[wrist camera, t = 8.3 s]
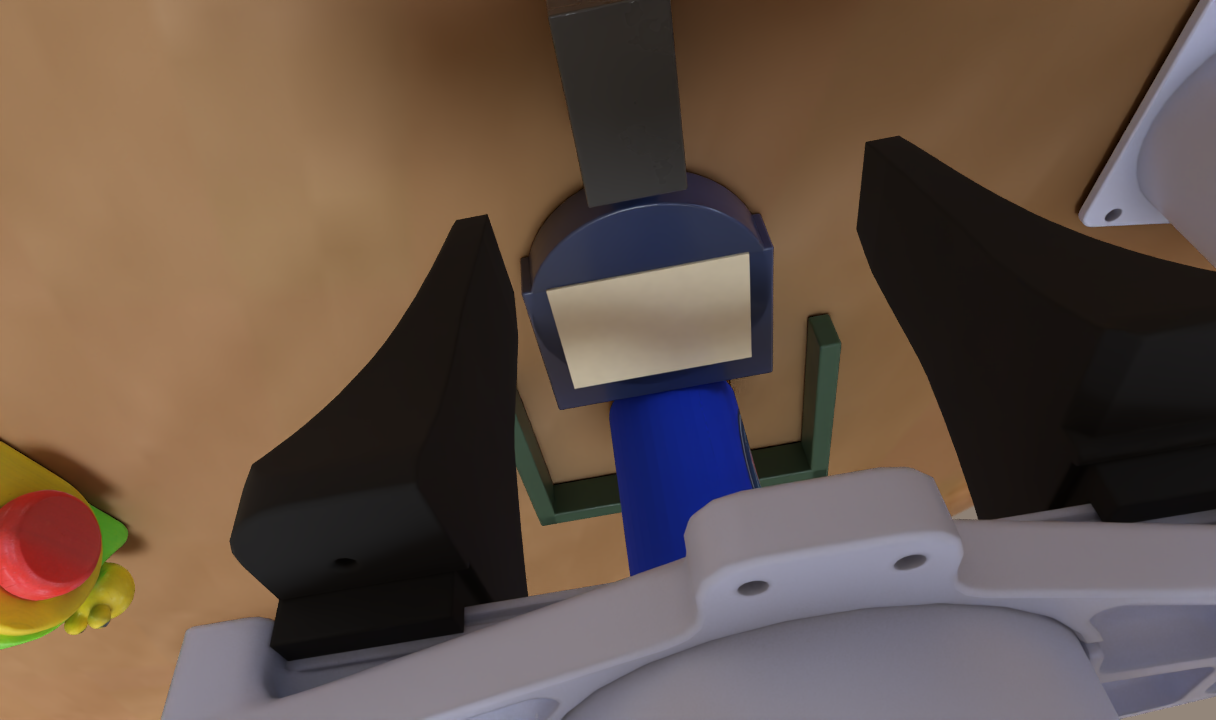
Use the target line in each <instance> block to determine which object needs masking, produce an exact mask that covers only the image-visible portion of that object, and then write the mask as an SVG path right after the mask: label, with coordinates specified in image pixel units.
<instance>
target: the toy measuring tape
mask: <svg viewBox="0 0 1216 720" xmlns="http://www.w3.org/2000/svg"><path fill="white" fill-rule="evenodd" d="M127 537H128V530H127V528H126V527H125V526H124V525H123V524H122V523H121V522H119V521H117V520H116V519H114V518H112V517H111V516H109V515H107V514H106V513H104V512H102V511H100V510H99V509H97V508H95V507H94V506H92V505H90V504H89V503H88V502H87V501H86V500H85V498H84V497H83V496H82V495H81V494H80V493H79V492H78V491H77V490H76V489H75V488H74V487H73V486H72V485H70V484H69V483H67V482H66V481H64V480H63V479H61V478H60V477H58V476H57V475H55V474H54V473H52V472H50V471H49V470H47V469H46V468H44V467H42V466H41V465H39V464H37V463H36V462H34V461H32V460H31V459H29V458H28V457H26V456H24V455H23V454H21V453H19V452H18V451H16V450H15V449H13V448H11V447H10V446H8V445H6V444H5V443H3V442H1V441H0V649H5V648H8V647H12V646H16V645H19V644H23V643H26V642H29V641H32V640H35V639H38V638H40V637H42V636H44V635H46V634H48V633H50V632H52V631H53V630H55V629H56V628H58V627H59V626H60V625H61V624H63V623H64V622H65V624H64V629H65V631H66V632H67V633H68V634H71V635H76V634H80V633H82V632H83V631H84V630H85V629H86V627H87V625H88V624H89V626H90V627H92V628H94V629H100V628H103V627H106V626H107V625H108V623H109V622H110V620H111V619H112V618H115V617H117V616H118V615H120V614H121V613H122V612H124V611H125V610H126V609H127V607H128V606H129V605H130V603H131V602H132V600H133V597H134V592H135V584H134V580H133V578H132V576H131V574H130V573H129V572H128V570H126V569H125V568H124V567H122V566H120V565H118V564H115V563H107V562H105V561H106V560H107V559H108V558H109V557H110V556H111V555H112V554H113V553H114V552H116V551H117V550H118V549H119V548H120V547H121V546H122V545H123V544H124V543H125V542H126V540H127Z"/></svg>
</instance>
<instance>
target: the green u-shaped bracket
mask: <svg viewBox="0 0 1216 720" xmlns="http://www.w3.org/2000/svg"><path fill="white" fill-rule="evenodd" d="M840 352H841V341H840V339H839V337H838V334H837V332H836V330H835V327H834V325H833V323H832V320H831V318H830V316H829V315H828V314H826V315H820V316H815V317H810V318H809V320H808V337H807V355H806V372H805V390H804V407H803V424H802V442H799V443H793V444H787V445H782V446H776V447H770V448H764V449H759V450H753V451H751V454H752V457H753V461H754V464H755V468H756V471H757V475H758V478H759V482H760V485H761V487H767V486H773V485H779V484H785V483H791V482H797V481H802V480H808V479H814V478H820V477H826V476H827V475H828V465H829V455H830V446H831V436H832V427H833V418H834V408H835V399H836V389H837V380H838V370H839V361H840ZM515 460H516V467H517V470H518V472H519V474H520V476H521V479H522V481H523V483H524V486H525V488H526V490H527V493H528V495H529V497H530V500H531V502H532V504H533V507H534V509H535V511H536V514H537V516H538V518H539V521H540V523H541V525H542V526H545V525H551V524H557V523H562V522H568V521H574V520H579V519H585V518H591V517H597V516H603V515H608V514H614V513H620V512H622V510H621V502H620V495H619V487H618V480H617V474H615V475H610V476H604V477H598V478H592V479H587V480H581V481H575V482H569V483H564V484H558V485H553V483H552V481H551V478H550V475H549V473H548V470H547V467H546V465H545V462H544V459H543V457H542V454H541V451H540V449H539V446H538V444H537V441H536V438H535V436H534V433H533V430H532V428H531V425H530V422H529V420H528V417H527V414H526V412H525V409H524V407H523V404H522V401H521V399H520V396H519V393H518V391H517V388H516V405H515Z"/></svg>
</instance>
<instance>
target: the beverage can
mask: <svg viewBox="0 0 1216 720" xmlns="http://www.w3.org/2000/svg"><path fill="white" fill-rule="evenodd" d="M609 420H610V428H611V435H612V443H613V450H614V458H615V465H616V473H617V480H618V487H619V495H620V502H621V510H622V517H623V525H624V532H625V540H626V547H627V555H628V562H629V570H630V576H633V575H636V574H639V573H642V572H644V571H647V570H650V569H653V568H656V567H659V566H662V565H664V564H667V563H670V562H673V561H676V560H679V559H681V558H684V557H686V546H685V540H684V533H685V530H686V527H687V524H688V521H689V518H690V517H691V516H692V515H693V514H694V513H696V512H697V511H698V510H700V509H701V508H702V507H704V506H705V505H706V504H708V503H709V502H711V501H712V500H714V499H717V498H720V497H723V496H726V495H730V494H733V493H736V492H739V491H744V490H749V489H755V488H761V485H760V482H759V478H758V475H757V471H756V468H755V464H754V461H753V457H752V454H751V450H750V447H749V443H748V440H747V436H746V433H745V429H744V426H743V422H742V419H741V415H740V412H739V408H738V405H737V401H736V398H735V394H734V391H733V389H732V388H731V386H730V385H729V384H728V383H727V382H726V381H720V382H714V383H709V384H703V385H698V386H692V387H686V388H681V389H675V390H670V391H664V392H658V393H653V394H647V395H642V396H636V397H631V398H625V399H619V400H614V402H613V404H612V406H611V409H610V413H609Z"/></svg>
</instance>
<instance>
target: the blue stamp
mask: <svg viewBox="0 0 1216 720" xmlns="http://www.w3.org/2000/svg"><path fill="white" fill-rule="evenodd" d="M546 5H547V13H548V20H549V25H550V30H551V34H552V39H553V44H554V48H555V53H556V58H557V63H558V67H559V72H560V77H561V81H562V86H563V91H564V95H565V100H566V105H567V110H568V114H569V119H570V124H571V128H572V133H573V138H574V142H575V147H576V152H577V157H578V161H579V166H580V171H581V175H582V180H583V185H584V189H582V190H580V191H579V192H577V193H576V194H574V195H573V196H571V197H570V198H568V199H567V200H566V201H565V202H564V203H562V204H561V205H560V206H559V207H558V208H557V209H556V210H555V211H554V212H553V213H552V214H551V215H550V216H549V218H548V219H547V220H546V221H545V223H544V224H543V226H542V227H541V229H540V230H539V232H538V234H537V236H536V238H535V240H534V242H533V244H532V247H531V251H530V254H529V257H526V258H522V259H521V261H520V263H521V289H522V297H523V300H524V303H525V306H526V309H527V312H528V315H529V318H530V321H531V324H532V327H533V331H534V334H535V337H536V340H537V343H538V346H539V349H540V352H541V355H542V358H543V361H544V364H545V367H546V370H547V374H548V377H549V380H550V383H551V386H552V389H553V392H554V395H555V398H556V401H557V404H558V407H559V409H560V410H564V409H569V408H575V407H580V406H586V405H591V404H597V403H603V402H608V401H614V400H619V399H625V398H631V397H636V396H642V395H647V394H653V393H658V392H664V391H670V390H675V389H681V388H686V387H692V386H698V385H703V384H709V383H714V382H720V381H725V380H731V379H737V378H742V377H748V376H753V375H759V374H764V373H770V372H772V370H773V257H774V247H773V245H772V242H771V239H770V237H769V234H768V232H767V229H766V227H765V224H764V222H763V219H762V217H761V215H760V214H754V215H752V214H751V213H750V211H749V210H748V209H747V207H746V206H745V204H744V203H743V202H742V201H741V200H740V199H739V198H738V197H737V196H736V195H735V194H733V193H732V192H730V191H729V190H728V189H726V188H725V187H723V186H722V185H720V184H718V183H716V182H714V181H712V180H710V179H708V178H705V177H702V176H699V175H697V174H693V173H688V172H686V163H685V152H684V142H683V131H682V120H681V109H680V98H679V88H678V77H677V66H676V55H675V44H674V33H673V23H672V12H671V1H670V0H546Z"/></svg>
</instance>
